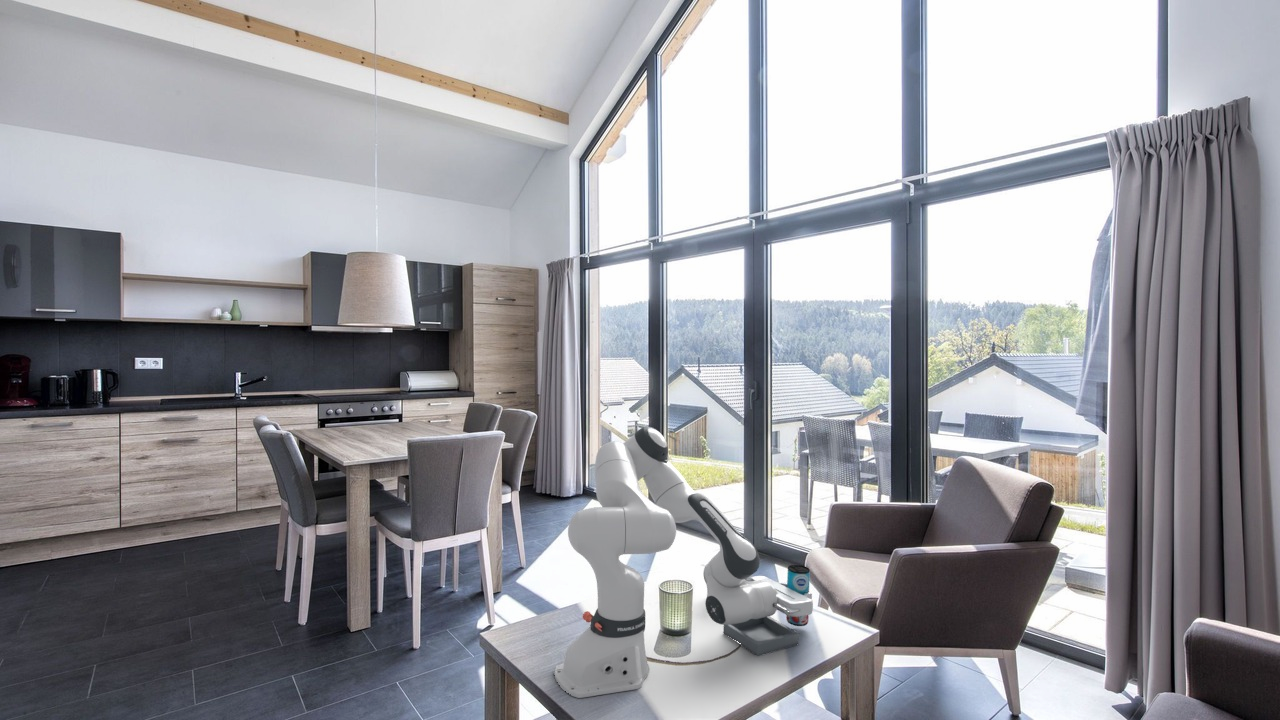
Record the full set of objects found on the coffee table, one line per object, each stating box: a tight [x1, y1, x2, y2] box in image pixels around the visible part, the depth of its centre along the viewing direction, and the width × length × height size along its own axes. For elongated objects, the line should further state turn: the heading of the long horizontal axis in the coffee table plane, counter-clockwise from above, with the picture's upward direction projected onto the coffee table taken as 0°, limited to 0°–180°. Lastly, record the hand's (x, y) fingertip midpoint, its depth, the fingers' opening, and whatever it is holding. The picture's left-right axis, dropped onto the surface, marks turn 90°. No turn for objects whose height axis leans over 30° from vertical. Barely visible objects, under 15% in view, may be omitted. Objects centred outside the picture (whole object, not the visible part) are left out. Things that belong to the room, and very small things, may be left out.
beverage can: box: [785, 564, 811, 627], centre depth 169 cm, size 6×6×15 cm
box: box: [722, 616, 800, 657], centre depth 163 cm, size 14×14×3 cm
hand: (800, 590), depth 170 cm, fingers closed on beverage can, 6 cm apart
